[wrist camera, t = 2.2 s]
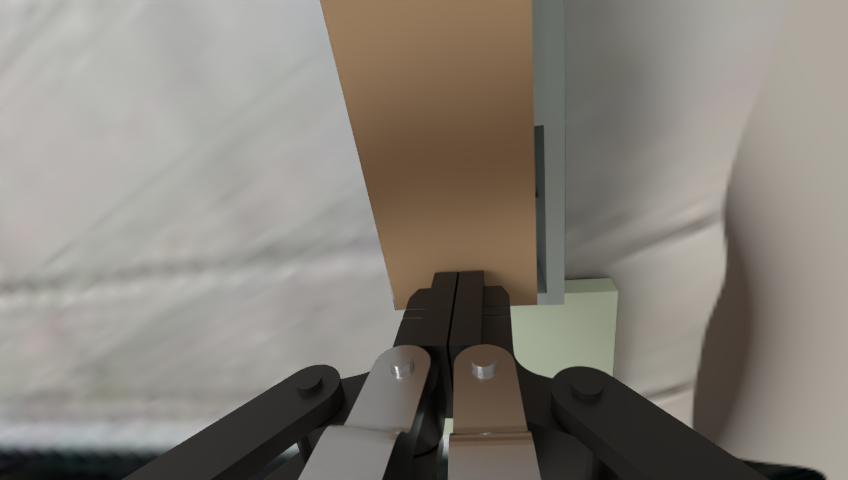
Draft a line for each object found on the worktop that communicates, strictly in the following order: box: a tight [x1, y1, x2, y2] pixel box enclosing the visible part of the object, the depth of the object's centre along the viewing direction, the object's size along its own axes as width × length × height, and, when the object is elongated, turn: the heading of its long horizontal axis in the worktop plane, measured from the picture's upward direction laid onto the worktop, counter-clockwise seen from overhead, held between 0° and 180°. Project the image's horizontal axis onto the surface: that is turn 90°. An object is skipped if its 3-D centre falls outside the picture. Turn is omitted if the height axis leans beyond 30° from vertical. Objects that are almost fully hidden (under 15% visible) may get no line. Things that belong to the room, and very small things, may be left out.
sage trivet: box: [443, 278, 618, 435], centre depth 22 cm, size 10×10×1 cm
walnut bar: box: [320, 0, 537, 310], centre depth 12 cm, size 10×4×4 cm, turn 8°
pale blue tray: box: [387, 0, 565, 310], centre depth 15 cm, size 14×8×6 cm, turn 8°
